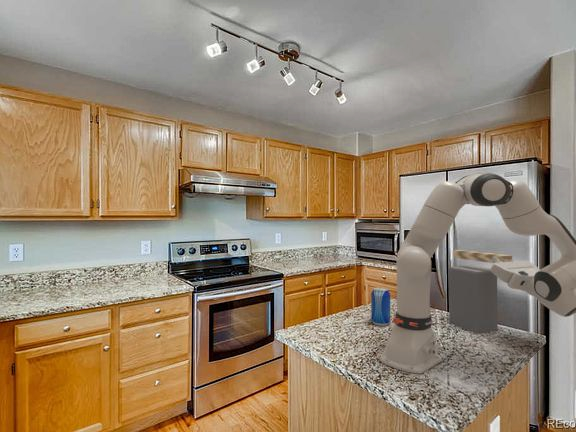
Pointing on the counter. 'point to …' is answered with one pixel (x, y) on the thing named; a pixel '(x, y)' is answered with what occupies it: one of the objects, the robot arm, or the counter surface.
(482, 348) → the counter surface
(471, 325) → the charcoal stand
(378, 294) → the beer can
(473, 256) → the maple bar
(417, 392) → the counter surface
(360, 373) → the counter surface
